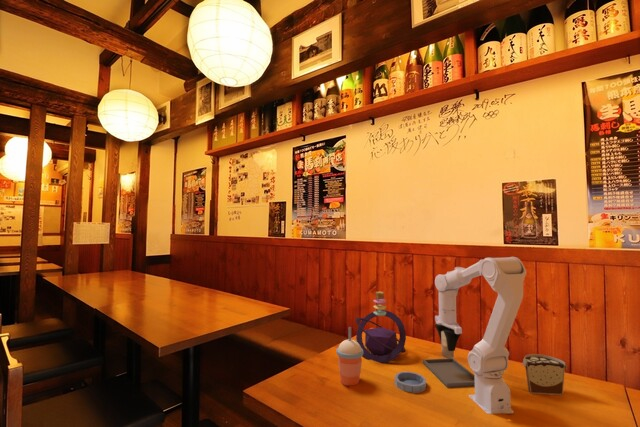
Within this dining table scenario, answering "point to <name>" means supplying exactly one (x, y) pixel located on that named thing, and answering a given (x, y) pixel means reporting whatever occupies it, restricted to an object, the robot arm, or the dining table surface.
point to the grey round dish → (410, 382)
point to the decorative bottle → (381, 335)
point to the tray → (450, 372)
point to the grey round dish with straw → (349, 361)
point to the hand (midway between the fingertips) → (448, 347)
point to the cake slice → (544, 374)
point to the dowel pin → (445, 347)
